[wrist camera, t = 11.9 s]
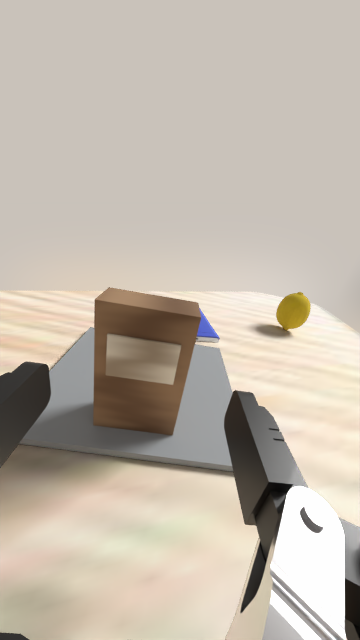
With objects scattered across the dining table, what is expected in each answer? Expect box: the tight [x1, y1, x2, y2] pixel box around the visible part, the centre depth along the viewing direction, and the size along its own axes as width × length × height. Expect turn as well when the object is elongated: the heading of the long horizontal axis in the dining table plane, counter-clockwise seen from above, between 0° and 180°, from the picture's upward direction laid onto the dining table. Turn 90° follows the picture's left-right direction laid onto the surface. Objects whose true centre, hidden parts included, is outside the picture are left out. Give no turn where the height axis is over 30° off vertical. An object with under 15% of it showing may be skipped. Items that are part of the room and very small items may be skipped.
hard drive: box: [196, 308, 219, 342], centre depth 37 cm, size 2×8×12 cm
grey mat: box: [19, 327, 233, 472], centre depth 22 cm, size 18×16×1 cm
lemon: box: [276, 292, 310, 330], centre depth 41 cm, size 6×6×8 cm
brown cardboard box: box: [93, 287, 201, 435], centre depth 15 cm, size 6×3×10 cm, turn 90°
